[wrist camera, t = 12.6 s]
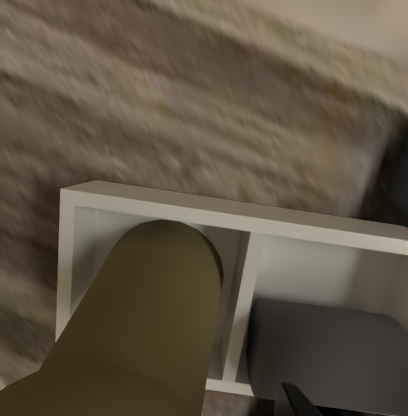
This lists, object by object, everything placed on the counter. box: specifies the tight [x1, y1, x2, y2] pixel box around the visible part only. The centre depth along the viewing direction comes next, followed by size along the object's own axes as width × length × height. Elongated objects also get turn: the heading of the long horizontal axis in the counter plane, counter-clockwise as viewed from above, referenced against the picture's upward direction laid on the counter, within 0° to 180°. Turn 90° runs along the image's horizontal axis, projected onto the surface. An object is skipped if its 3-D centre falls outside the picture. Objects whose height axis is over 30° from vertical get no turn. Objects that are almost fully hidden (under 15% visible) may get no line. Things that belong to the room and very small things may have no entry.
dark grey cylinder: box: [247, 298, 408, 416], centre depth 12 cm, size 6×4×4 cm
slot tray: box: [56, 180, 408, 416], centre depth 13 cm, size 16×8×3 cm, turn 82°
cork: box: [0, 219, 224, 416], centre depth 8 cm, size 6×6×11 cm
